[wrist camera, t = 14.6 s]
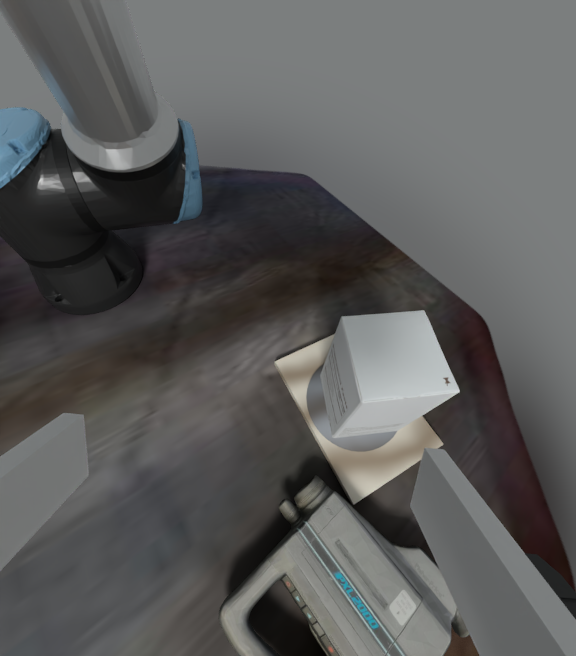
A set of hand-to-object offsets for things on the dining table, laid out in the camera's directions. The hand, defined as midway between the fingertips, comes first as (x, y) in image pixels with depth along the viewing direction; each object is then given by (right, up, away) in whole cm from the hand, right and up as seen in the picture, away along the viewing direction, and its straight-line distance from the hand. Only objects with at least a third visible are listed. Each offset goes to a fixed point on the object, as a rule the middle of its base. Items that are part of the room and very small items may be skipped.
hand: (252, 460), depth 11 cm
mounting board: (+10, -5, +29) cm, 31 cm away
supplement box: (+11, -5, +28) cm, 30 cm away
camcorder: (+6, -22, +19) cm, 30 cm away
